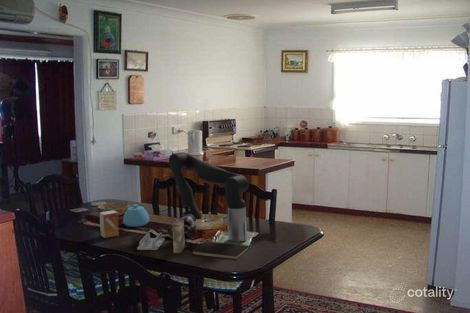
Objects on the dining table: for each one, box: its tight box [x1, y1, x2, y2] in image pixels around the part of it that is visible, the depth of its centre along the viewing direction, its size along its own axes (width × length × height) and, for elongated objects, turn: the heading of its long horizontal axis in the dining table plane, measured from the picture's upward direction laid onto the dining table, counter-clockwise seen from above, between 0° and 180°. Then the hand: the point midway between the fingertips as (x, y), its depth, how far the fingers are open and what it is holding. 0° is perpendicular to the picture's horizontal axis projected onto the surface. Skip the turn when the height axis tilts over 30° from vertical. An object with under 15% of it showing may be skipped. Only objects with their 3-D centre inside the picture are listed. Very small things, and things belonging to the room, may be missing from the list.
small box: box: [98, 210, 120, 239], centre depth 286 cm, size 8×6×13 cm
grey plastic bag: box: [136, 232, 166, 251], centre depth 269 cm, size 10×16×4 cm, turn 174°
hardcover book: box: [192, 240, 250, 260], centre depth 256 cm, size 16×23×2 cm
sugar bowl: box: [122, 204, 150, 228], centre depth 307 cm, size 15×15×12 cm
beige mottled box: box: [172, 218, 186, 254], centre depth 259 cm, size 4×10×14 cm, turn 174°
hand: (179, 233), depth 261 cm, fingers open, 8 cm apart
